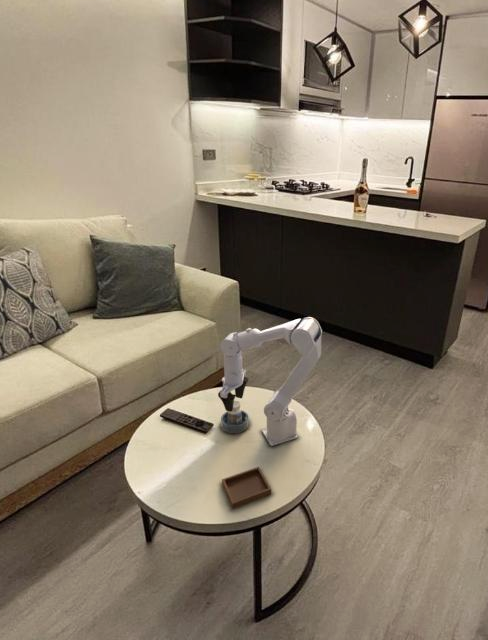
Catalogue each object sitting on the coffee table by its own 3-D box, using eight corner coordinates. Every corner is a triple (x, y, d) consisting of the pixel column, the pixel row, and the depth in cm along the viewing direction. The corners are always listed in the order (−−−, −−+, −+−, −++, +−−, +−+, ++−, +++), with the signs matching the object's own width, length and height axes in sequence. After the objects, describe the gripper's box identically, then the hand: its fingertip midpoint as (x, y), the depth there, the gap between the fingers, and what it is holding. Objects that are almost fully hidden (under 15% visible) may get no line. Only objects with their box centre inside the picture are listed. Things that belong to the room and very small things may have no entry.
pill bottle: (239, 429, 137) (238, 409, 133) (225, 427, 138) (225, 407, 134) (243, 421, 141) (243, 400, 138) (231, 418, 142) (230, 398, 139)
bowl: (243, 413, 145) (243, 406, 144) (252, 429, 138) (252, 422, 136) (218, 420, 141) (217, 413, 140) (226, 437, 134) (225, 430, 132)
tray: (258, 471, 121) (258, 466, 120) (271, 494, 113) (271, 489, 112) (222, 484, 116) (221, 479, 115) (232, 509, 108) (232, 503, 107)
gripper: (232, 356, 138) (233, 389, 143) (210, 378, 125) (212, 414, 131) (251, 359, 136) (251, 393, 142) (231, 382, 124) (232, 418, 129)
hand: (234, 403), depth 136 cm, fingers open, 7 cm apart
